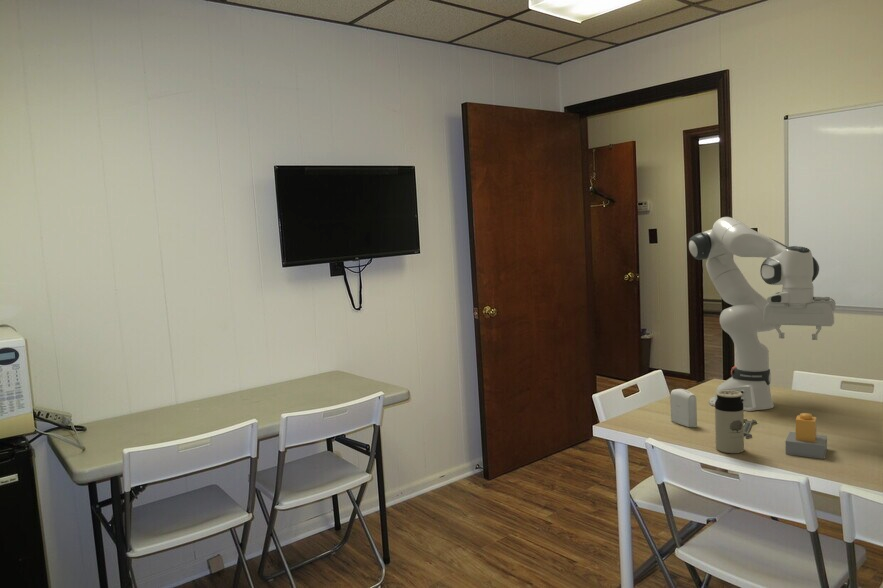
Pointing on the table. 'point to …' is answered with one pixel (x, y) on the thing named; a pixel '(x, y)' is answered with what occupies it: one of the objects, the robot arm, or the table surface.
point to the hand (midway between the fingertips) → (798, 338)
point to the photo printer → (683, 407)
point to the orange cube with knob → (806, 427)
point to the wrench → (748, 427)
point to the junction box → (806, 446)
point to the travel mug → (729, 421)
